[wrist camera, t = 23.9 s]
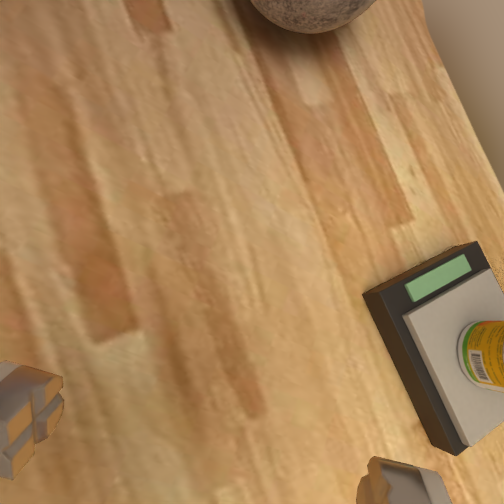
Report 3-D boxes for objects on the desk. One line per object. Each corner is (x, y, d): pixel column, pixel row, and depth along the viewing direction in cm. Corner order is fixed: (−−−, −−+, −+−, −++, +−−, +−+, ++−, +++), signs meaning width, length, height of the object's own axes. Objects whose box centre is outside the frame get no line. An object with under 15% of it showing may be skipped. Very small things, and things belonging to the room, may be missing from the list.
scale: (361, 294, 29) (385, 291, 26) (455, 246, 33) (485, 238, 30) (432, 445, 28) (465, 461, 25) (520, 378, 32) (559, 384, 29)
